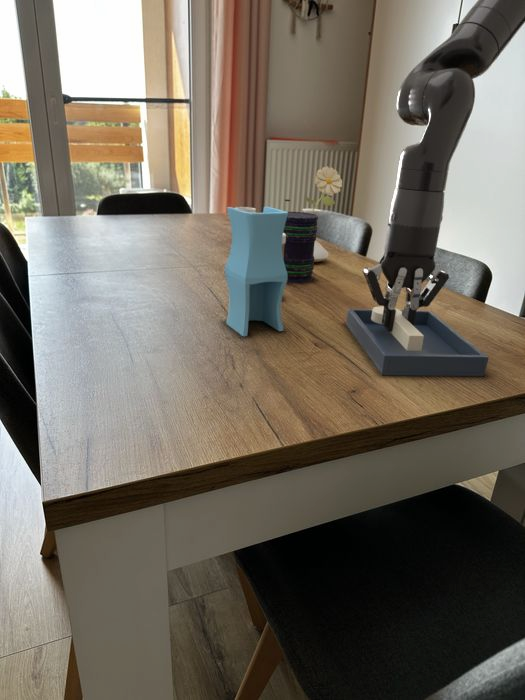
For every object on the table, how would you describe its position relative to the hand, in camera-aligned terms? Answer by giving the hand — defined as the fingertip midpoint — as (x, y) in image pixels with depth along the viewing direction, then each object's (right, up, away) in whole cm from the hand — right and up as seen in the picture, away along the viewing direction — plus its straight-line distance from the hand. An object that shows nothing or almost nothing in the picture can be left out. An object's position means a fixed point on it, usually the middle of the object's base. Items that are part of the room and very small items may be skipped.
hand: (396, 329), depth 83 cm
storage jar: (-14, +14, +41) cm, 46 cm away
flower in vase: (-8, +21, +60) cm, 65 cm away
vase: (-23, +1, +8) cm, 25 cm away
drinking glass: (-28, +32, +84) cm, 95 cm away
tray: (+2, -3, +2) cm, 4 cm away
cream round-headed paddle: (0, 0, 0) cm, 0 cm away
